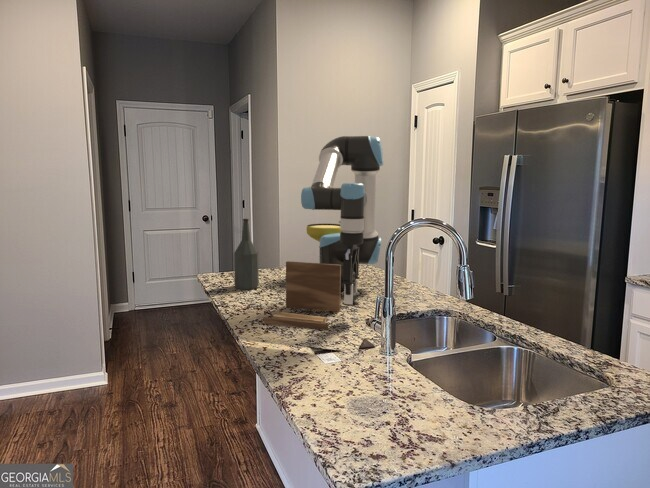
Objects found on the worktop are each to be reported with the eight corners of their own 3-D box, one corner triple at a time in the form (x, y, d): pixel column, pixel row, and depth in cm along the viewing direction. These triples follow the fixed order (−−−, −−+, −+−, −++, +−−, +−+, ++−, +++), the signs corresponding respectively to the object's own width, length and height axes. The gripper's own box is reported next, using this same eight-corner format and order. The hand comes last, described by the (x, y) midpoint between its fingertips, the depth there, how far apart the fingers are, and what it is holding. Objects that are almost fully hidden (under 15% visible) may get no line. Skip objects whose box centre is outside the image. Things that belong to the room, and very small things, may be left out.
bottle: (256, 290, 204) (255, 220, 200) (233, 290, 204) (231, 219, 200) (259, 284, 214) (259, 217, 210) (237, 284, 215) (236, 217, 210)
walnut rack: (285, 309, 178) (285, 261, 175) (342, 314, 172) (343, 264, 169) (263, 327, 158) (262, 273, 155) (327, 333, 152) (327, 277, 149)
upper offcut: (278, 317, 163) (278, 311, 163) (326, 323, 158) (326, 317, 158) (273, 321, 159) (273, 315, 159) (321, 327, 154) (321, 321, 153)
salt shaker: (357, 306, 155) (358, 270, 153) (339, 305, 157) (340, 269, 155) (360, 302, 161) (361, 266, 159) (343, 300, 162) (344, 265, 161)
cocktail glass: (300, 276, 232) (300, 224, 228) (334, 273, 240) (334, 222, 236) (315, 284, 216) (316, 228, 212) (351, 280, 223) (352, 227, 220)
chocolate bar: (374, 346, 140) (315, 352, 135) (374, 349, 140) (315, 356, 135) (362, 335, 149) (306, 341, 143) (362, 338, 149) (306, 344, 143)
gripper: (346, 227, 165) (345, 293, 169) (333, 234, 147) (332, 308, 151) (368, 228, 163) (367, 295, 167) (357, 235, 145) (355, 310, 149)
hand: (350, 301), depth 159 cm, fingers closed on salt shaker, 6 cm apart
